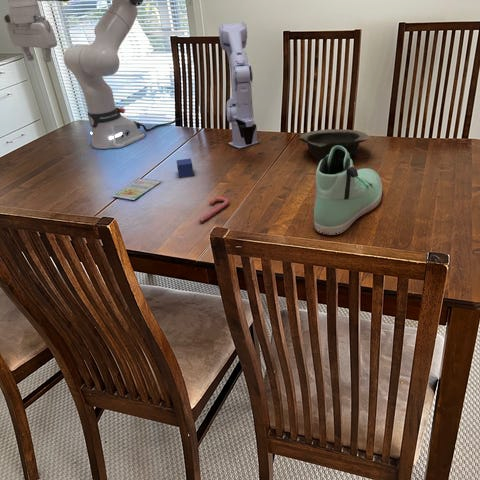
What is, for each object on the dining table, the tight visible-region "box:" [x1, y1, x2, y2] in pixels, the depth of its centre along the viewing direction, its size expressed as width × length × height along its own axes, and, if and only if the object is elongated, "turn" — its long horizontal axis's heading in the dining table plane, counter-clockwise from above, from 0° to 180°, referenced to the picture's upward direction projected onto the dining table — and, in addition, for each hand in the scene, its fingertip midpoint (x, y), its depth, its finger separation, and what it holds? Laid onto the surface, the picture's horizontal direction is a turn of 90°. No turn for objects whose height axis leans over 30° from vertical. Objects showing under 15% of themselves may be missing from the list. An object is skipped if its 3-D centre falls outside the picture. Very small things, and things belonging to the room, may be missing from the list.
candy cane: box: [198, 196, 230, 223], centre depth 143 cm, size 6×15×2 cm, turn 145°
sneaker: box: [313, 146, 383, 236], centre depth 133 cm, size 14×35×20 cm, turn 152°
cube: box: [175, 158, 195, 179], centre depth 168 cm, size 5×5×5 cm
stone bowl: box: [298, 128, 371, 163], centre depth 172 cm, size 25×25×9 cm
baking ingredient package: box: [112, 178, 161, 201], centre depth 160 cm, size 9×1×15 cm
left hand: (39, 61), depth 161 cm, fingers open, 8 cm apart
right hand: (246, 140), depth 171 cm, fingers open, 7 cm apart
